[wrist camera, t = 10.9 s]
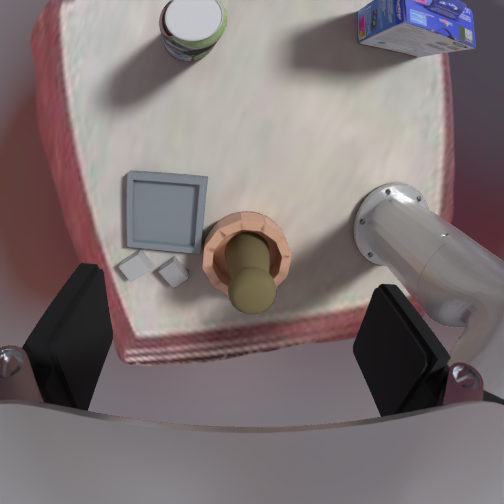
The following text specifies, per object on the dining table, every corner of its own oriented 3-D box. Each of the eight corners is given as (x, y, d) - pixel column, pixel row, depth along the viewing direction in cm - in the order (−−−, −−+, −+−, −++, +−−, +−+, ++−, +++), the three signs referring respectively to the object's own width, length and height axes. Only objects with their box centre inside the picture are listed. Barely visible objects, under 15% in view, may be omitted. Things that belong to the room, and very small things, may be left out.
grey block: (189, 271, 44) (187, 279, 42) (175, 280, 44) (173, 288, 43) (174, 255, 43) (172, 262, 41) (161, 264, 43) (158, 271, 41)
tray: (207, 176, 38) (207, 179, 37) (201, 249, 42) (200, 254, 41) (130, 170, 37) (127, 173, 35) (130, 242, 41) (127, 246, 40)
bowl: (292, 216, 41) (298, 226, 38) (278, 287, 46) (281, 301, 43) (208, 207, 40) (206, 216, 37) (202, 281, 44) (200, 294, 41)
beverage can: (168, 19, 29) (144, -13, 18) (229, 18, 29) (230, -17, 19) (164, 65, 31) (137, 48, 21) (225, 64, 32) (224, 45, 21)
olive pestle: (240, 279, 44) (244, 331, 34) (215, 246, 41) (212, 293, 32) (277, 258, 43) (292, 305, 33) (254, 223, 40) (263, 264, 30)
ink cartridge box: (419, 23, 29) (486, 7, 16) (420, 58, 32) (491, 51, 19) (355, 7, 29) (412, -27, 16) (357, 44, 31) (418, 21, 18)
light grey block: (141, 247, 42) (137, 255, 40) (153, 263, 43) (149, 270, 41) (122, 259, 42) (118, 267, 40) (134, 274, 44) (130, 282, 42)
